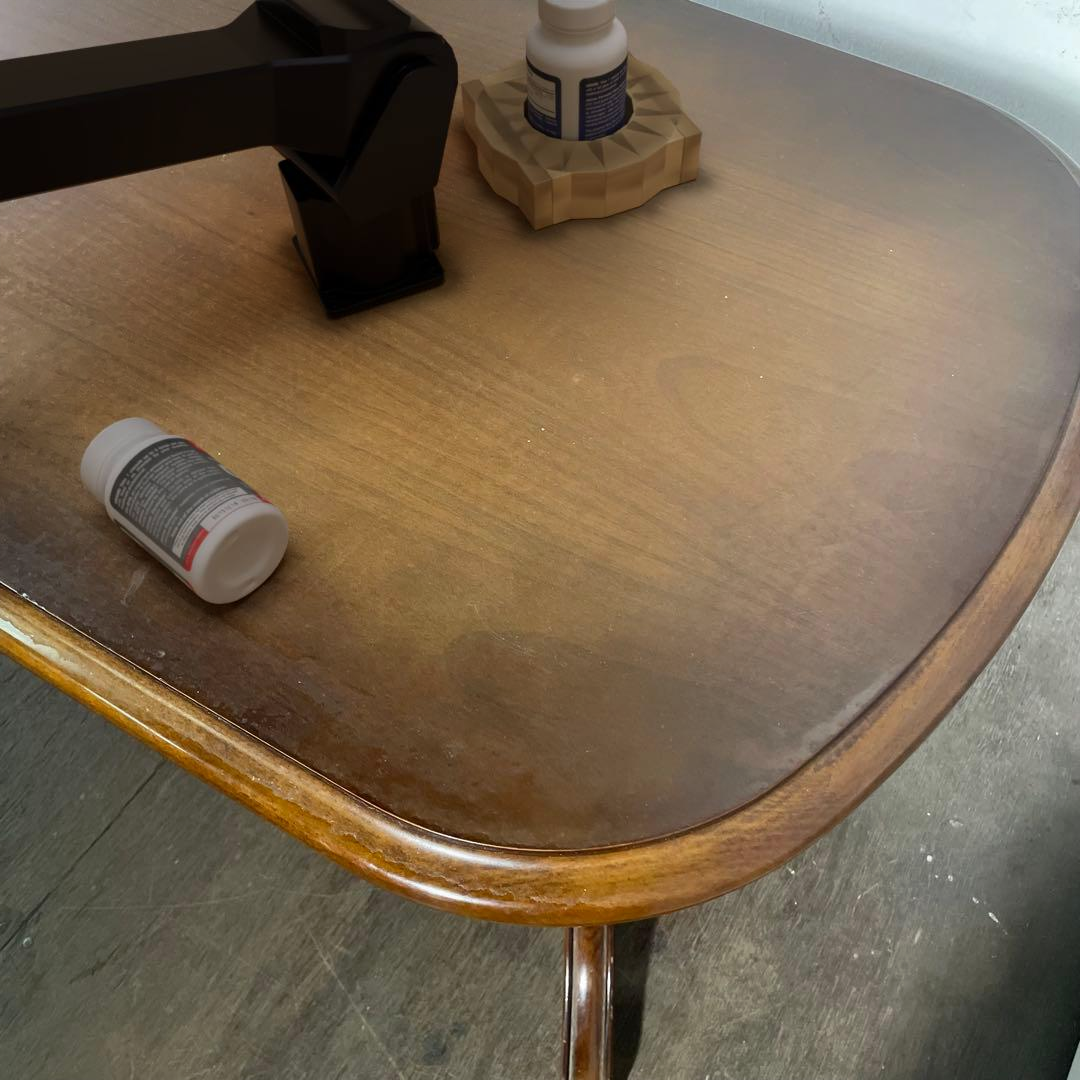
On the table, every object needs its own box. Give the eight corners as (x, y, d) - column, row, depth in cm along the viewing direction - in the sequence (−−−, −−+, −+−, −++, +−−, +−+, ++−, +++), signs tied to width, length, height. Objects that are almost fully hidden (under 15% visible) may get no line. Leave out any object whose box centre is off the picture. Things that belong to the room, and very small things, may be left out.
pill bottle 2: (626, 128, 62) (635, -40, 54) (619, 187, 59) (628, 18, 51) (534, 123, 62) (530, -45, 54) (523, 181, 60) (517, 13, 51)
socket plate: (528, 242, 57) (526, 196, 54) (449, 126, 62) (444, 79, 60) (713, 182, 59) (720, 135, 57) (620, 75, 65) (622, 29, 62)
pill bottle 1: (294, 491, 43) (165, 391, 46) (196, 543, 40) (65, 432, 43) (291, 573, 46) (170, 474, 49) (201, 626, 43) (78, 518, 46)
